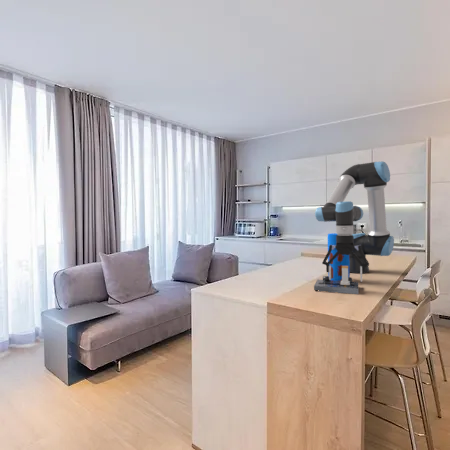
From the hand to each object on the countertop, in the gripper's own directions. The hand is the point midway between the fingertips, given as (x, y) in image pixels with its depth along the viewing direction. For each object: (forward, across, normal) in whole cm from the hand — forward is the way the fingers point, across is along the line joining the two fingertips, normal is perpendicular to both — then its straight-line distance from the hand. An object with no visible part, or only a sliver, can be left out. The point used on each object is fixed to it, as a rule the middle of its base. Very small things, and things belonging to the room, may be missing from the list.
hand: (345, 280), depth 141 cm
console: (+5, -4, +1) cm, 6 cm away
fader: (+2, 0, 0) cm, 2 cm away
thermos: (+5, -4, +21) cm, 22 cm away
